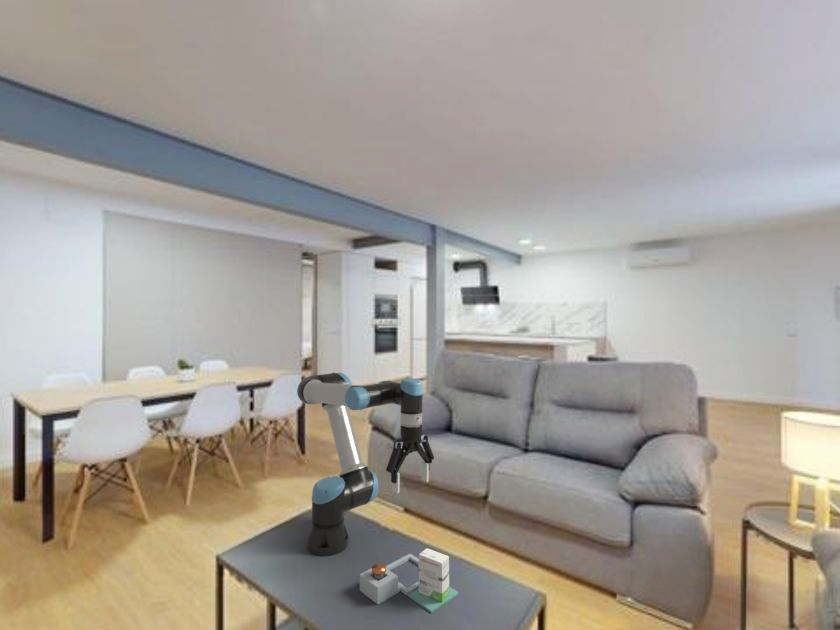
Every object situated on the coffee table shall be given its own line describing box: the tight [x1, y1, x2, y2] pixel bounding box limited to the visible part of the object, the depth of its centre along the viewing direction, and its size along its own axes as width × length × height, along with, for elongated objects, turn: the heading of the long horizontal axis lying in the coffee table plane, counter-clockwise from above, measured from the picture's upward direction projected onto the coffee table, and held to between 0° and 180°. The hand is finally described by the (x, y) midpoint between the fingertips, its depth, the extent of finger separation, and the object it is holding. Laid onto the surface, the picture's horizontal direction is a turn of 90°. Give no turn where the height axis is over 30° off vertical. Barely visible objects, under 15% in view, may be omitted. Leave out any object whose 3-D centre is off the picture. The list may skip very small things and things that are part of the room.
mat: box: [407, 586, 460, 614], centre depth 131 cm, size 10×12×1 cm
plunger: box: [371, 562, 387, 581], centre depth 133 cm, size 4×4×6 cm
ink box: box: [418, 548, 450, 602], centre depth 131 cm, size 9×5×12 cm, turn 56°
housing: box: [359, 553, 419, 605], centre depth 138 cm, size 15×24×5 cm, turn 134°
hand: (411, 486), depth 147 cm, fingers open, 13 cm apart
